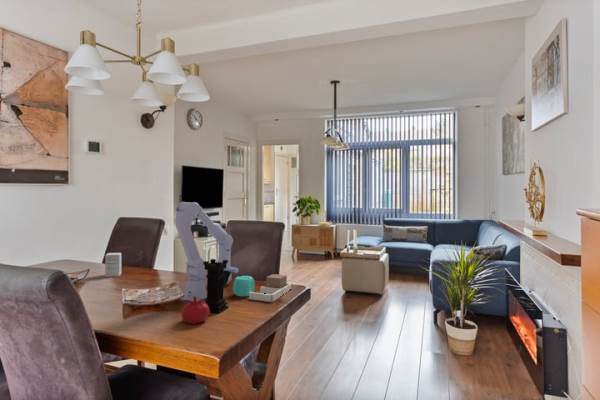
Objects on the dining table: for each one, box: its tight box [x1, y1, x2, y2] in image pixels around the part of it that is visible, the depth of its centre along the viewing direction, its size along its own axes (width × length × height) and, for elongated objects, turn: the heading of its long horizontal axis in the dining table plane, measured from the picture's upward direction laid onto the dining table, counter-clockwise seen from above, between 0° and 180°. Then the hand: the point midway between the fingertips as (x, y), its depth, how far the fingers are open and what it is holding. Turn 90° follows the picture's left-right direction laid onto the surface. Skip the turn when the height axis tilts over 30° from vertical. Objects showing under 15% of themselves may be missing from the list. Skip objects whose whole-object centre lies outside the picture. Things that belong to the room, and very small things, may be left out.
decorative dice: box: [232, 275, 256, 298], centre depth 168 cm, size 8×8×8 cm
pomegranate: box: [180, 296, 211, 325], centre depth 131 cm, size 10×10×9 cm
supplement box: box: [104, 252, 122, 278], centre depth 203 cm, size 7×7×13 cm
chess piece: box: [203, 258, 229, 314], centre depth 144 cm, size 8×8×20 cm
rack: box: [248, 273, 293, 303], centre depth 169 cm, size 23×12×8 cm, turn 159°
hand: (224, 286), depth 172 cm, fingers closed
